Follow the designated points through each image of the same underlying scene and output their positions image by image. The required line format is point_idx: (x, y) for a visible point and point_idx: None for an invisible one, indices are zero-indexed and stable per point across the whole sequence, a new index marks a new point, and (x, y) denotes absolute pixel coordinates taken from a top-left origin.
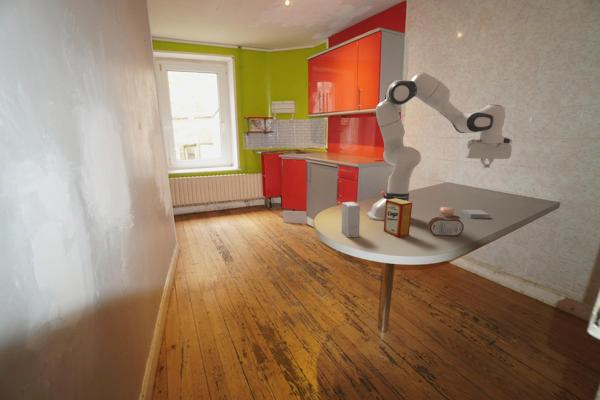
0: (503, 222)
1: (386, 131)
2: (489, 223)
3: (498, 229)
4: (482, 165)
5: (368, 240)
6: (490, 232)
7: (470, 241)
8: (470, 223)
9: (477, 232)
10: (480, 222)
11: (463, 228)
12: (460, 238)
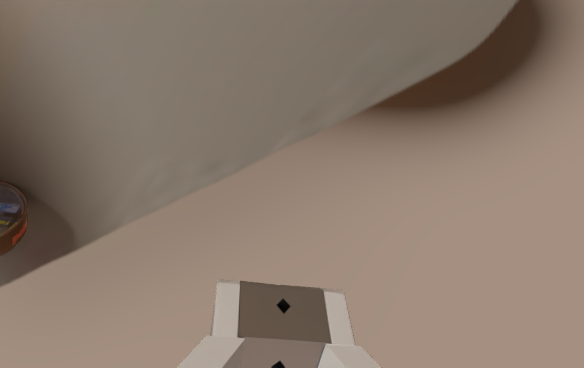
0: (451, 20)
1: None
2: (339, 31)
3: (302, 134)
4: (212, 322)
5: None
6: (223, 170)
7: (53, 254)
8: (209, 18)
9: (152, 165)
10: (295, 4)
11: (23, 234)
12: None
